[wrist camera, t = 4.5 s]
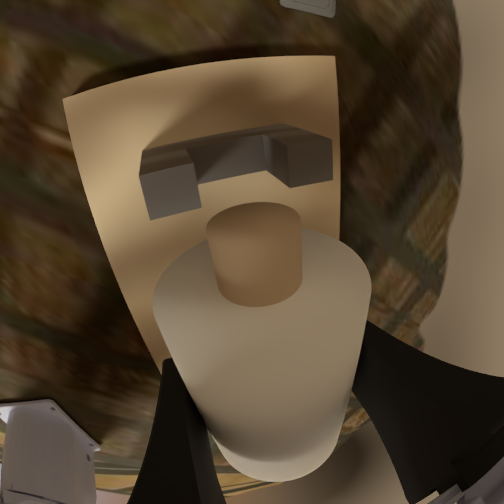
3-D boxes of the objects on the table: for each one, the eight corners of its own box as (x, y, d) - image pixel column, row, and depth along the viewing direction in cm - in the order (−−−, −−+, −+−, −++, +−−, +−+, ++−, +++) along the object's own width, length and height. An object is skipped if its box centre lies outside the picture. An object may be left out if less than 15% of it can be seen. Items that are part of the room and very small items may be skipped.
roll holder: (325, 322, 24) (361, 373, 19) (164, 371, 21) (175, 435, 17) (323, 57, 14) (392, 53, 9) (69, 98, 11) (26, 104, 7)
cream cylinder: (308, 381, 15) (354, 461, 11) (211, 413, 14) (242, 504, 10) (307, 168, 9) (432, 248, 5) (134, 207, 8) (132, 344, 4)
